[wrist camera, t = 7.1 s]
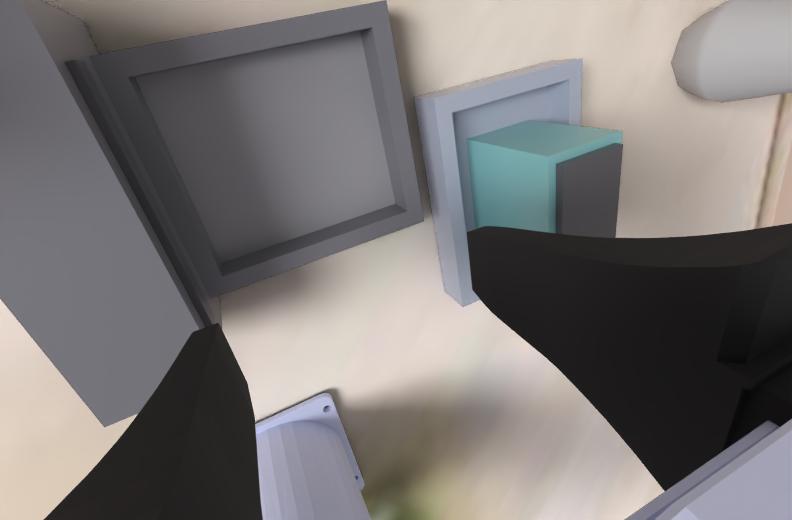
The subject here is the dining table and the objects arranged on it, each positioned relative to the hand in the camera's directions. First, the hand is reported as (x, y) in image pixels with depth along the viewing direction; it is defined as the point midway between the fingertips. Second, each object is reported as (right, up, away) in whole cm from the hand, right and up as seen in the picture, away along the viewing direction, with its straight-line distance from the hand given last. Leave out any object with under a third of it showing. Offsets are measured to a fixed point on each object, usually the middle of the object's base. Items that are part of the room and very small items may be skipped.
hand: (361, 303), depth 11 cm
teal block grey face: (+7, +5, +12) cm, 15 cm away
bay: (-6, +6, +7) cm, 10 cm away
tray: (+7, +6, +12) cm, 15 cm away
